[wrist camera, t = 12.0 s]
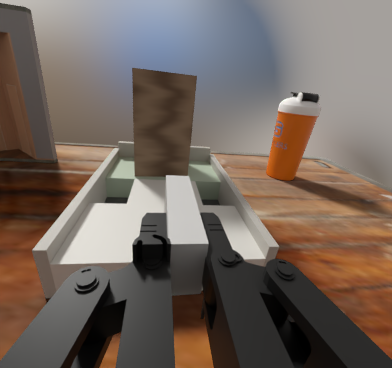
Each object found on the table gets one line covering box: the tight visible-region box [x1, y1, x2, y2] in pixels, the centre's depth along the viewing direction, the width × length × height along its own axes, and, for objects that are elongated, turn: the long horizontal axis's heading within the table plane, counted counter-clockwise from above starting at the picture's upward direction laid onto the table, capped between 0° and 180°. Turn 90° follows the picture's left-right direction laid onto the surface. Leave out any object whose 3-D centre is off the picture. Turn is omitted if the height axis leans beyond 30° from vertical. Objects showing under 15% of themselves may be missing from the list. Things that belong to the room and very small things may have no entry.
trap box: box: [32, 141, 279, 298], centre depth 32 cm, size 21×30×7 cm
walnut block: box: [132, 68, 197, 177], centre depth 37 cm, size 9×9×16 cm
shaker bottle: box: [266, 92, 321, 181], centre depth 51 cm, size 9×9×20 cm
